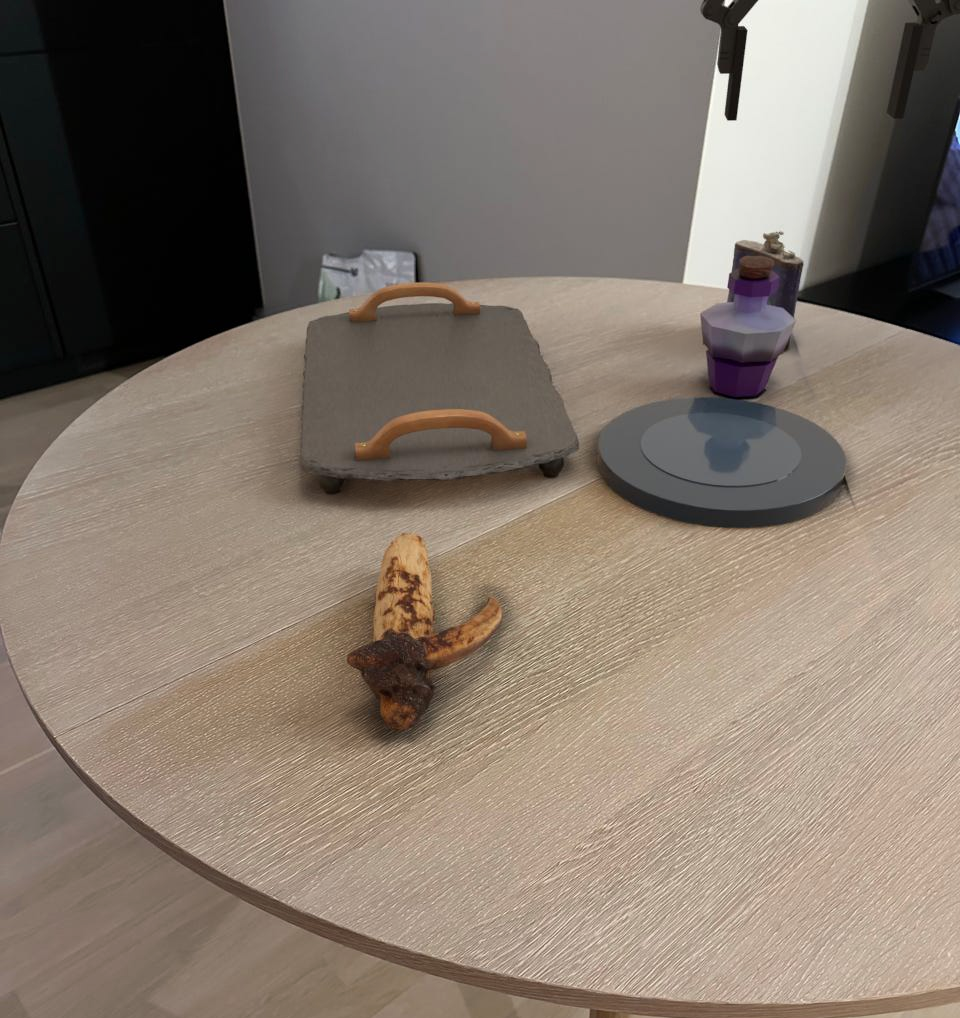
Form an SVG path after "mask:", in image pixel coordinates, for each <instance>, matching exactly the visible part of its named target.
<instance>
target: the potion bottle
mask: <svg viewBox="0 0 960 1018" xmlns="http://www.w3.org/2000/svg"><path fill="white" fill-rule="evenodd" d="M774 263H775V261H774V260H772V259H770V258H767V257H763V256H744V257H742V258H741V259H739V269H736V270H734V271H733V272H732V271H731V272H729V273H728V280H727V289H728V291H729V290H730V291H731V292H732V293H733V294H735V296H734V302H729V303H727V302H716V303H715V304H713V305H711V306H709V307H708V308H706V309H705V310H703V311H701V312H700V313H699V315H700V326H701V327H700V328H701V335H702V336H701V337H702V345H703V346H705V347H706V348H707V349H706V350H705V355H706V366H707V377H708V384H706V386H707V388H709V390H710V391H711V393H712V394H713V395H715V396H718V397H721V398H728V399H736V400H750V399H751V400H753V399H758V398H760V397H761V396H762V395H763V394H765V393H766V392H767V389H766V387H767V384H768V382H769V380H770V378H771V375H772V373H773V370H774V368H775V365H776V363H777V361H778V358H779V356H781V355H783V353H784V352H785V351H784V349H785V346H786V344H787V342H788V339H789V337H790V335H791V336H792V332H793V330H794V328H795V325H796V322H797V319H796V318H795V317H794V318H793V317H792V316H791V315H790V314H789V313H788V312H787V311H786V310H784V309H783V308H780V307H776V306H771V305H766V304H767V298H768V296H770V295H772V294H773V293H775V292H777V290H778V284H779V278H780V277H779V276H778V275H777V274H776V273H775V272H774V271H772V269H773V266H774Z"/></svg>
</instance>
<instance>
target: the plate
mask: <svg viewBox="0 0 960 1018" xmlns="http://www.w3.org/2000/svg"><path fill="white" fill-rule="evenodd" d="M844 451H845V450H843V447H842V446H841V444H840V442H838V440H836V438H835V437H833V436H832V435H831V433H829V432H828V431H827V430H826V429H824V428H823V427H821V426H820V425H818V424H817V423H815V422H812V421H811V420H809V419H807V418H805V417H803V416H801V415H799V414H796V413H794V412H790V411H788V410H785V409H782V408H779V407H775V406H772V405H768V404H764V403H759V402H755V401H749V400H745V399H740V400H736V399H730V398H726V397H710V396H709V397H705V396H704V397H703V396H702V397H700V396H699V397H697V396H695V397H680V398H679V397H678V398H670V399H664V400H659V401H653V402H650V403H646V404H642V405H640V406H636V407H634V408H631V409H629V410H627V411H624V412H622V413H621V414H619V415H617V416H616V417H614V418H613V419H612V420H611V421H610V422H608V423H607V424H606V425H605V427H604V428H603V429H602V431H601V433H600V435H599V437H598V444H597V457H596V463H597V469H598V471H599V474H600V476H601V478H602V480H603V481H604V482H605V484H606V485H607V486H608V487H609V488H610V489H611V490H612V491H613V492H614V493H615V494H617V495H618V496H619V497H621V498H622V499H624V500H625V501H627V502H629V503H631V504H632V505H634V506H636V507H638V508H640V509H642V510H644V511H646V512H649V513H652V514H654V515H657V516H659V517H663V518H666V519H670V520H673V521H677V522H682V523H686V524H691V525H696V526H697V525H698V526H703V527H704V526H705V527H712V528H722V529H754V528H766V527H774V526H780V525H785V524H789V523H794V522H797V521H799V520H802V519H805V518H808V517H810V516H812V515H815V514H817V513H819V512H820V511H821V510H823V509H825V508H827V507H828V506H829V505H831V503H832V502H833V501H834V500H835V499H836V497H837V496H838V495H839V494H840V491H841V489H842V486H843V483H844V482H843V481H844V479H845V475H846V470H847V458H846V454H845V452H844Z"/></svg>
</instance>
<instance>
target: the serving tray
mask: <svg viewBox="0 0 960 1018" xmlns="http://www.w3.org/2000/svg"><path fill="white" fill-rule="evenodd" d="M413 297H414V298H415V297H430V298H431V297H433V298H441V299H445V300H447V301H449V302H450V303H442V302H431V303H430V302H429V303H428V302H427V303H413V304H394V305H387V306H380V305H382V304H383V303H386V302H389V301H392V300H397V299H398V300H399V299H403V298H413ZM379 306H380V307H379ZM304 342H305V353H304V354H303V355H304V356H303V358H304V369H303V373H302V374H303V384H302V402H301V411H302V412H301V418H300V420H301V423H300V424H301V426H300V430H301V431H300V443H299V445H300V446H299V447H300V449H299V465H300V469H301V470H302V471H303V472H305V473H311V474H315V475H318V476H317V481H318V484H319V485H318V486H319V487H320V488H321V489H322V490H323V491H324V493H325V494H326V495H332V496H333V495H338V494H339V493H341V492H342V488H344V485H345V481H346V479H347V480H348V479H354V480H363V481H377V482H379V481H380V482H394V481H395V482H397V481H445V480H447V481H448V480H458V479H463V478H470V477H480V476H485V475H491V474H498V473H503V472H504V473H505V472H511V471H517V470H521V469H525V468H530V467H533V466H536V465H538V469H539V471H541V473H542V476H543V477H545V478H548V479H555V478H557V477H559V476H560V473H561V472H562V471H563V469H564V467H565V457H567V456H570V455H572V454H575V453H576V452H578V451H579V450H580V441H579V438H578V434H577V432H576V431H575V429H574V426H573V425H572V421H571V419H570V417H569V415H568V413H567V411H566V407H565V403H564V400H563V398H562V396H561V394H560V392H559V391H557V389H556V387H555V386H554V384H553V378H552V377H553V376H552V374H551V373H552V372H551V370H550V368H549V365H548V363H546V362H545V359H544V357H543V355H542V354H541V349H540V344H539V341H538V340H536V338H535V337H534V336H533V334H532V332H531V330H530V328H529V325H528V323H527V320H526V319H525V316H524V314H523V312H522V310H520V309H519V308H515V307H511V306H507V305H488V304H487V305H486V304H480V302H479V301H469V300H468V299H466V298H465V297H464V296H463V295H462V294H461V293H460V292H458V291H457V290H455V288H453V287H451V286H449V285H447V284H443V283H437V282H427V281H426V282H423V281H422V282H421V281H419V282H404V283H396V284H392V285H388V286H384V287H381V288H379V289H377V290H376V291H374V292H373V293H372V294H371V295H370V296H369V297H368V298H367V299H366V300H365V302H364V303H362V305H361V306H359V307H357V308H350V309H349V310H348V312H345V313H344V312H343V313H339V314H333V315H324V316H321V317H319V318H316V319H313V320H310V321H308V323H307V327H306V338H305V341H304Z"/></svg>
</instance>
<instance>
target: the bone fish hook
mask: <svg viewBox="0 0 960 1018" xmlns="http://www.w3.org/2000/svg"><path fill="white" fill-rule="evenodd" d="M429 563H430V562H429V555H428V550H427V548H426V544H425V540H424V539H423V537H421V536H420V535H419V534H417V533H407V532H403V533H401V534H400V535H398V536H396V537H394V539H392V541H390V545H388V546H387V548H386V550H385V551H384V553H383V558H382V561H381V563H380V571H379V574H380V575H379V577H378V580H377V584H376V593H375V606H374V610H373V611H374V612H373V620H372V627H373V638H372V643H370V644H365V645H362V646H360V647H358V648H357V649H355V650H352V651H350V652H349V653H348V654H347V657H346V663H347V665H348V666H350V667H352V668H354V669H356V670H358V671H360V675H361V677H362V679H363V680H364V682H365V683H366V685H368V687H369V689H370V690H371V691H372V693H373V694H374V696H375V698H377V699H378V700H380V705H379V712H380V715H381V717H382V719H383V720H384V723H385V724H386V725H387V726H388V727H390V728H392V729H396V730H406V729H413V728H415V727H416V726H417V725H418V724H419V723H420V721H421V717H422V716H423V715H425V714H426V712H427V711H428V710H429V708H430V704H431V702H432V699H433V698H434V694H435V691H436V690H435V689H436V688H437V686H436V684H433V680H432V679H431V678H430V673H431V671H432V670H437V669H442V668H444V667H447V666H449V665H451V664H453V663H457V662H458V661H461V660H463V659H465V658H467V657H468V656H470V655H473V653H475V652H476V651H477V650H479V649H480V648H481V647H482V646H484V645H485V644H486V643H487V642H488V641H489V640H490V638H491V637H492V636H493V635H494V634H495V633H496V632H497V630H498V629H499V627H500V625H501V624H502V620H503V615H504V614H503V613H504V612H503V609H502V606H501V604H500V602H499V601H498V600H497V599H496V598H495V596H493V595H490V596H488V599H487V602H486V605H485V606H484V608H483V609H481V611H480V612H478V613H477V614H476V615H475V616H473V617H472V618H471V619H469V620H468V621H465V622H464V623H462V624H460V625H457V626H450V627H448V628H446V629H443V630H441V631H438V632H435V633H434V631H435V627H434V626H435V625H434V619H435V616H436V611H435V608H434V604H433V597H432V596H433V595H432V593H433V592H432V591H433V590H432V589H433V587H432V586H433V585H432V584H433V583H432V582H433V581H432V573H431V569H430V564H429Z"/></svg>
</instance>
